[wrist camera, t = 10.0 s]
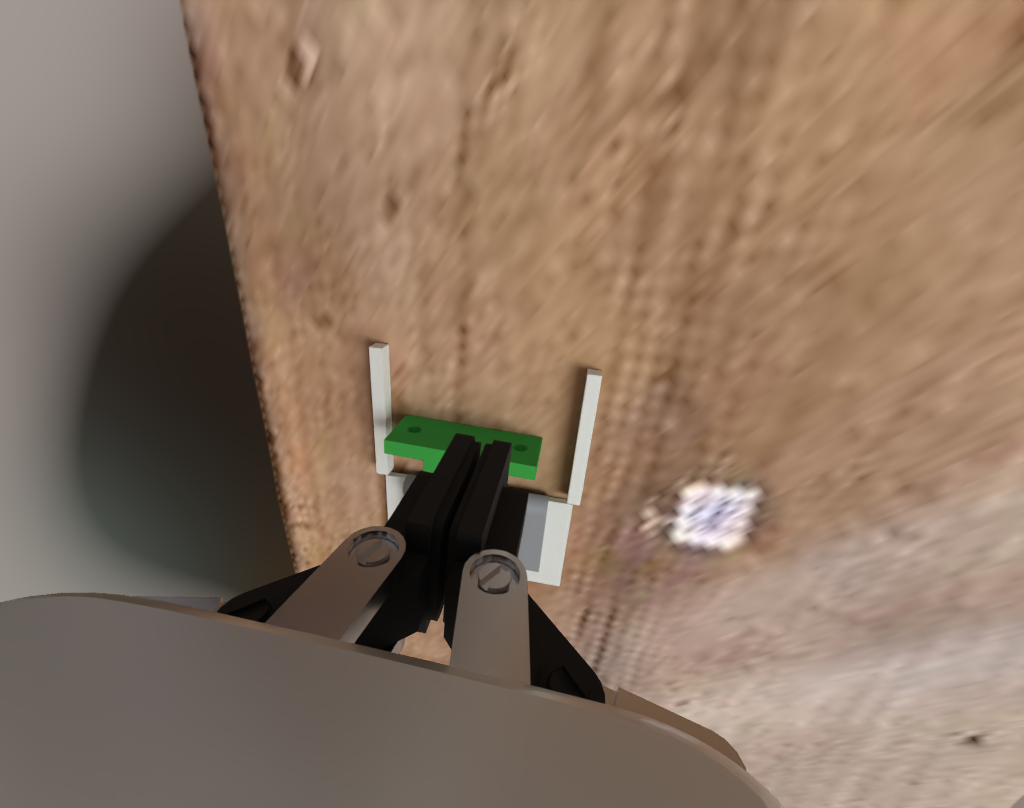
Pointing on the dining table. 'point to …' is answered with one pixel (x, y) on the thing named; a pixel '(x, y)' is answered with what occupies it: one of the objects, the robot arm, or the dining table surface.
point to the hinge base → (543, 513)
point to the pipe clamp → (435, 436)
